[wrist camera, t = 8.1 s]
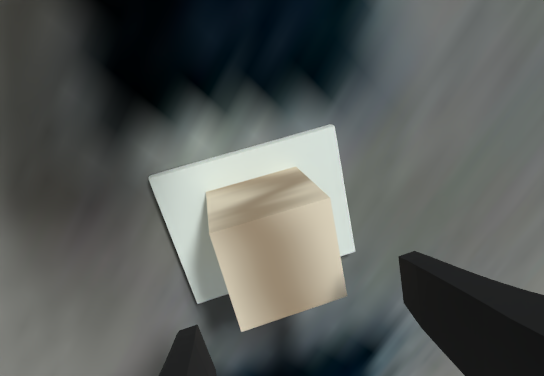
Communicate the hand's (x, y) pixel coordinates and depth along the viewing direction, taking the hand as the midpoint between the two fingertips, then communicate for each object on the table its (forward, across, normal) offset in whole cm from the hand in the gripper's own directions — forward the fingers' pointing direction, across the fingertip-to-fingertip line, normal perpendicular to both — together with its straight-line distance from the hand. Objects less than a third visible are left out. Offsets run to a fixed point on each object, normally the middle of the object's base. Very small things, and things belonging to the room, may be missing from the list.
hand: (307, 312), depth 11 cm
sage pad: (+8, 0, 0) cm, 9 cm away
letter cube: (+8, 0, 0) cm, 8 cm away
